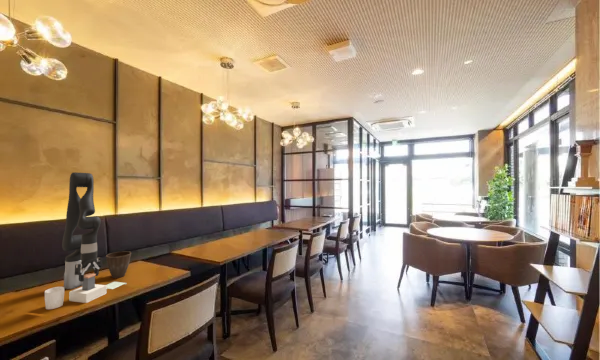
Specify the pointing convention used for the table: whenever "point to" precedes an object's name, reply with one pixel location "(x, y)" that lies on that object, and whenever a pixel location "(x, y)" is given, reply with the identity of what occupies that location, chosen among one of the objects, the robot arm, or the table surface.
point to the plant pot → (118, 263)
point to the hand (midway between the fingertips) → (89, 278)
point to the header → (87, 294)
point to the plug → (88, 282)
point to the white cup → (54, 297)
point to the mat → (114, 285)
